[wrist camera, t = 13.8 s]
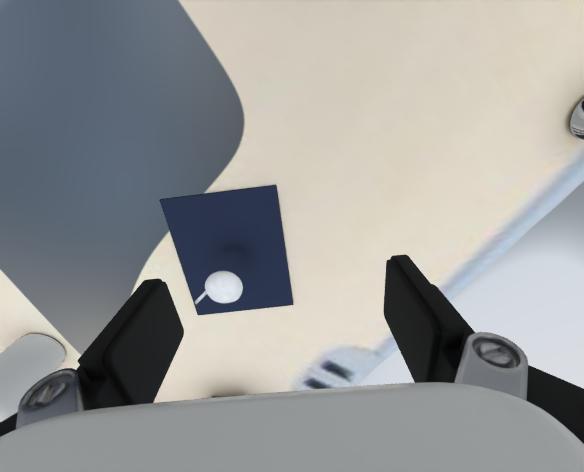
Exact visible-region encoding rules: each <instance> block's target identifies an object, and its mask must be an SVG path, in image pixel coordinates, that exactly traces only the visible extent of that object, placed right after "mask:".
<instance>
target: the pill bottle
mask: <svg viewBox="0 0 584 472" xmlns="http://www.w3.org/2000/svg"><path fill="white" fill-rule="evenodd" d="M64 359H65V350H64V348H63V347H62V346H61V344H59V343H58V342H57V341H56V340H54V339H52V338H50V337H48V336H45V335H41V334H28V335H25V336H22V337H21V338H19V339H18V340H16V341H15V342H14V343H13V344H12V345H10V346H9V347H8V348H7V349H6V350H4V351H3V352H2V353H1V354H0V422H2V421H3V420H5V419H7V418H9V417H10V416H12V415H14V414H15V413H17V412H18V406H19V403H20V400H21V398H22V397H23V396H24V394H25V393H26V392H27V391H28V390H29V389H30V388H31V387H32V386H33V385H34V384H35V383H37V382H38V381H39V380H41V379H42V378H44V377H46V376H47V375H49V374H51V373H53V372H55V371H56V369H57V368H58V367H59V366H60V365H61V364H62V362H63V361H64Z"/></svg>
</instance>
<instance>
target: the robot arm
mask: <svg viewBox="0 0 584 472" xmlns="http://www.w3.org/2000/svg"><path fill="white" fill-rule="evenodd" d="M384 316H385V319H386V321H387V324H388V326H389V328H390V330H391V332H392V334H393V336H394V339H395V341H396V343H397V345H398V347H399V349H400V351H401V354H402V356H403V357H404V360H405V362H406V364H407V366H408V369H409V371H410V373H411V375H412V377H413V379H414V382H415V383H401V384H384V385H367V386H354V387H341V388H328V389H315V390H302V391H290V392H278V393H265V394H253V395H241V396H229V397H217V398H206V399H194V400H183V401H172V402H161V403H153V402H154V399H155V397H156V395H157V393H158V391H159V388H160V386H161V384H162V382H163V380H164V378H165V375H166V373H167V371H168V369H169V367H170V364H171V362H172V360H173V358H174V356H175V353H176V351H177V349H178V347H179V345H180V342H181V340H182V338H183V334H184V329H183V326H182V324H181V321H180V318H179V316H178V313H177V310H176V308H175V305H174V302H173V300H172V297H171V295H170V292H169V289H168V287H167V284H166V283H165V282H162V280H161V279H150V280H144V281H143V282H142V284H141V285H140V286H139V287H138V288H137V290H136V291H135V292H134V293H133V294H132V296H131V297H130V298H129V299H128V300H127V302H126V303H125V304H124V305H123V307H122V308H121V309H120V310H119V311H118V313H117V314H116V315H115V316H114V317H113V319H112V320H111V321H110V322H109V323H108V325H107V326H106V327H105V328H104V329H103V331H102V332H101V333H100V334H99V335H98V337H97V338H96V339H95V340H94V341H93V343H92V344H91V345H90V346H89V347H88V349H87V350H86V351H85V352H84V354H83V355H82V356H81V357H80V358H79V359H78V362H79V364H80V366H79V367H78V368H77V370H75V369H72V368H66V369H62V370H58V371H56V372H53V373H51V374H49V375H47V376H46V377H44V378H42V379H41V380H39V381H38V382H37V383H35V384H34V385H33V386H32V387H31V388H30V389H29V390H28V391H27V392H26V393H25V394H24V396H23V397H22V398H21V400H20V403H19V406H18V412H17V413H15V414H14V415H12V416H10V417H9V418H7V419H5V420H3V421H2V422H0V472H584V389H583V388H581V387H578V386H576V385H574V384H571V383H569V382H567V381H564V380H562V379H560V378H557V377H555V376H552V375H550V374H548V373H546V372H543V371H541V370H539V369H536V368H534V367H532V366H529V365H528V360H527V357H526V355H525V354H524V352H523V351H522V350H521V349H520V348H519V347H518V346H517V345H516V344H515V343H513V342H511V341H510V340H508V339H506V338H504V337H502V336H499V335H496V334H492V333H487V332H478V333H475V332H474V331H473V330H472V328H471V327H470V326H469V325H468V324H467V322H466V321H465V320H464V319H463V318H462V316H461V315H460V314H459V313H458V312H457V310H456V309H455V308H454V307H453V306H452V304H451V303H450V302H449V301H448V300H447V298H446V297H445V296H444V295H443V294H442V292H441V291H440V290H439V289H438V288H437V287H436V286H435V285H433V284H430V282H429V281H428V280H427V279H426V277H425V276H424V275H423V274H422V273H421V271H420V270H419V269H418V268H417V266H416V265H415V264H414V263H413V261H412V260H411V259H410V258H409V257H408V256H407V255H397V256H392V257H391V260H387V263H386V280H385V296H384Z"/></svg>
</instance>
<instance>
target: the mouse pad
mask: <svg viewBox="0 0 584 472" xmlns="http://www.w3.org/2000/svg"><path fill="white" fill-rule="evenodd" d="M160 203H161V206H162V208H163V212H164V215H165V217H166V221H167V223H168V227H169V230H170V233H171V236H172V239H173V242H174V245H175V248H176V251H177V254H178V257H179V260H180V263H181V266H182V269H183V272H184V275H185V278H186V281H187V284H188V287H189V290H190V293H191V296H192V299H193V302H194V305H195V308H196V311H197V314H198V315H205V314H215V313H224V312H233V311H242V310H251V309H261V308H270V307H279V306H288V305H293V298H292V291H291V285H290V278H289V271H288V264H287V257H286V250H285V243H284V236H283V229H282V222H281V215H280V208H279V201H278V194H277V187H276V185H272V186H264V187H256V188H248V189H240V190H231V191H223V192H215V193H207V194H199V195H190V196H182V197H174V198H166V199H160ZM232 247H237V248H240V249H242V250H243V251H244V253H245V254H246V262H245V270H244V279H243V291H242V294H241V296H240V297H239V299H238V300H236V301H234V302H231V303H219V302H216V301H214V300H212V299H211V298H210V297H209V296H208V294H206V295H205V296H204V297H203V298H202V299H201V300H200V301H199V302H198V303H197V304H195V301H196V300H197V299H198V298H199V297H200V296H201V295H202V294H203V293H204V292H205V291H206V290H205V282H206V280H207V278H208V277H209V275H210V274H211V273H212V271H213V270H214V269H215V267H216V266H217V264H218V263H219V261H220V259H221V258H222V256H223V255H224V253H225V252H226V251H227V250H228V248H232Z"/></svg>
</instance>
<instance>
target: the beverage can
mask: <svg viewBox="0 0 584 472" xmlns="http://www.w3.org/2000/svg"><path fill="white" fill-rule="evenodd" d="M570 126H571V131H572V133H573V134H574V135H575V136H576V137H577V138H580V139H584V99H583V100H582V101H581V102H580V103H579V104H578V105H577V107H576V109H575V110H574V112H573V114H572V117H571V123H570Z"/></svg>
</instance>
